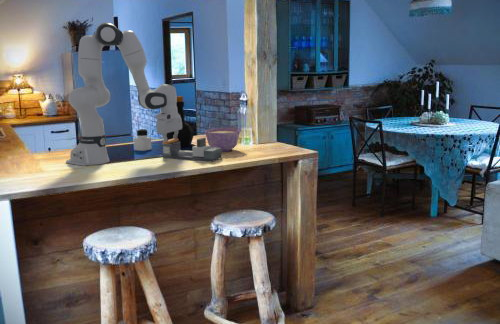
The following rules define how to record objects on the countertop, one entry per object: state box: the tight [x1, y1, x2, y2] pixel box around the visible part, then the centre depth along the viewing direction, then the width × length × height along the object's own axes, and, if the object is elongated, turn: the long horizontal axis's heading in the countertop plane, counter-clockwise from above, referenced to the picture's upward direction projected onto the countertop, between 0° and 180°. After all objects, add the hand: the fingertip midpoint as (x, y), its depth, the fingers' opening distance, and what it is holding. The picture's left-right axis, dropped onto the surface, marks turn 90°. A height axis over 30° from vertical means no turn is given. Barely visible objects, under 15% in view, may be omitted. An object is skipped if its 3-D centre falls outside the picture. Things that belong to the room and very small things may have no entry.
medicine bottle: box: [133, 128, 153, 152], centre depth 288 cm, size 7×7×12 cm
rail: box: [161, 141, 222, 163], centre depth 262 cm, size 30×10×8 cm, turn 67°
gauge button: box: [162, 139, 178, 144], centre depth 267 cm, size 3×11×1 cm, turn 157°
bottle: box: [166, 95, 195, 148], centre depth 298 cm, size 16×16×30 cm
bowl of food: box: [204, 127, 241, 153], centre depth 282 cm, size 20×20×12 cm
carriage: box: [191, 137, 211, 157], centre depth 260 cm, size 7×7×9 cm
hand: (170, 140), depth 266 cm, fingers open, 8 cm apart
